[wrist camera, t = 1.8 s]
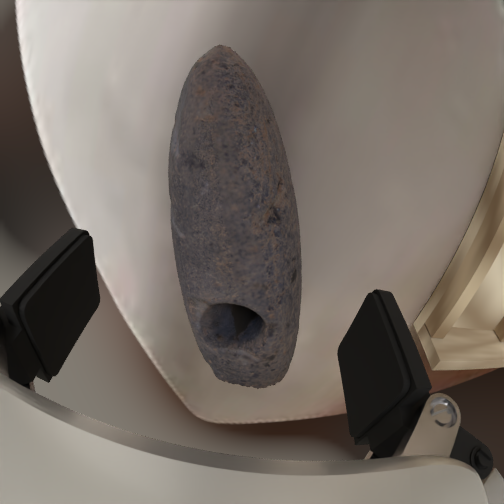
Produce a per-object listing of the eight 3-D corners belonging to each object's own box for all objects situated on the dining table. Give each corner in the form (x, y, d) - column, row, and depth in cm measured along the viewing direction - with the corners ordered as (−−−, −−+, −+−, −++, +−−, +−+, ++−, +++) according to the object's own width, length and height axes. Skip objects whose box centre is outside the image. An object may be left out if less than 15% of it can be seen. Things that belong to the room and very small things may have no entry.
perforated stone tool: (179, 61, 11) (105, 46, 6) (290, 50, 11) (307, 14, 5) (215, 306, 19) (195, 396, 13) (295, 305, 19) (300, 398, 13)
